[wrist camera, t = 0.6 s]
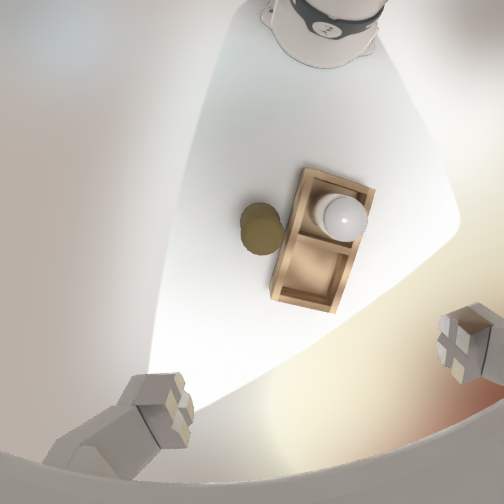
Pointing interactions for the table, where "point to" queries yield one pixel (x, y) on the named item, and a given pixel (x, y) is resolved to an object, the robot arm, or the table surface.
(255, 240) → the cork
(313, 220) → the salt shaker
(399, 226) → the table surface
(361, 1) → the robot arm
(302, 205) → the caddy
